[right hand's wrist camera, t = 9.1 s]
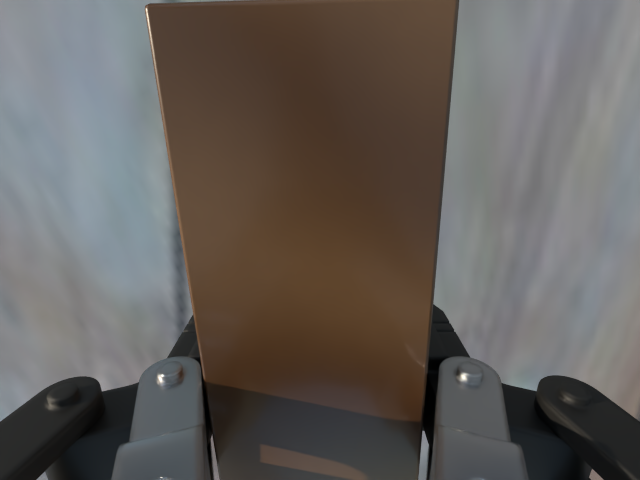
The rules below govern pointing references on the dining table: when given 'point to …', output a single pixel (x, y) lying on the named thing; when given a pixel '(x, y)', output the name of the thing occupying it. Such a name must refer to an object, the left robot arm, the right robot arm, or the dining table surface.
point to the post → (309, 222)
